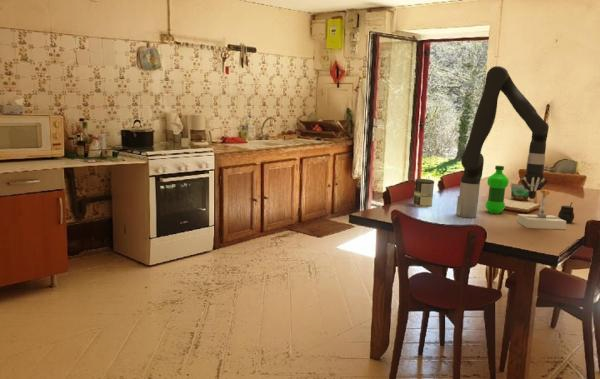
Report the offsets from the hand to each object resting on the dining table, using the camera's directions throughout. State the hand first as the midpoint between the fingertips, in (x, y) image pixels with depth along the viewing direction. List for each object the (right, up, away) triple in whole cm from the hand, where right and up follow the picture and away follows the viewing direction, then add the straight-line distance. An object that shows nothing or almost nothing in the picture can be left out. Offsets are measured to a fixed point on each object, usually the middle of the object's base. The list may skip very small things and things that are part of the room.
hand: (531, 198), depth 248 cm
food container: (+24, -3, +68) cm, 72 cm away
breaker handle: (+6, -9, +2) cm, 11 cm away
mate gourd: (+23, -12, +14) cm, 30 cm away
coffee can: (-43, -5, +39) cm, 58 cm away
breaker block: (+6, -13, +3) cm, 15 cm away
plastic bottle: (-7, -8, +29) cm, 31 cm away
